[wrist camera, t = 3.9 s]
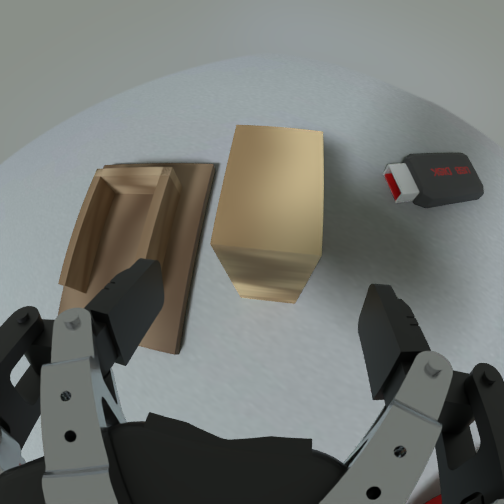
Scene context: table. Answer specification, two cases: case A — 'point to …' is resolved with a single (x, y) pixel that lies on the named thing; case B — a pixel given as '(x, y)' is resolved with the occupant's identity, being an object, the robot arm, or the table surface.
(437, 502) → the toy clock
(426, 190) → the usb drive
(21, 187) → the table surface
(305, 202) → the oak plank
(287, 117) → the table surface
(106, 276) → the groove board
